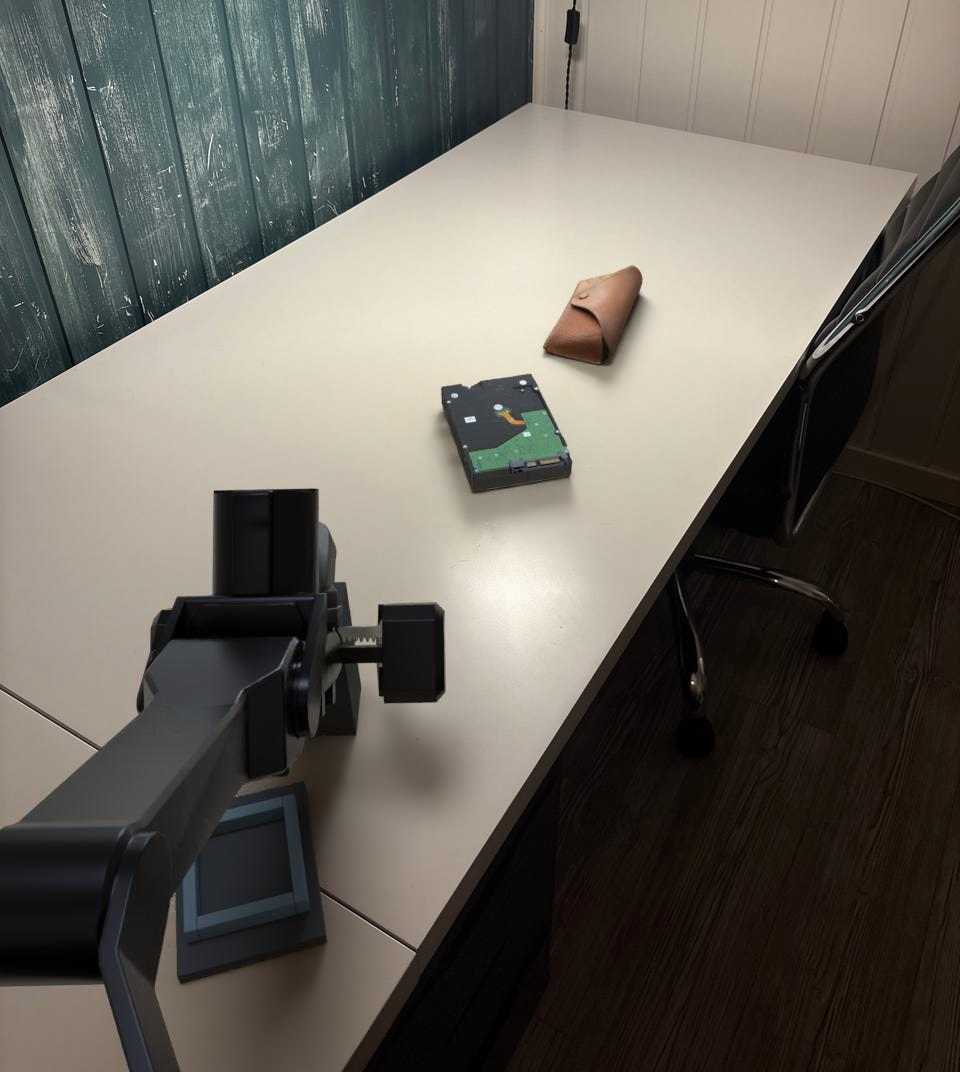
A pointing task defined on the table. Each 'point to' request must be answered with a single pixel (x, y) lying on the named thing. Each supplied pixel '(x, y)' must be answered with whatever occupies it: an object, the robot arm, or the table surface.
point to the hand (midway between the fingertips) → (321, 640)
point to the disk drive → (505, 432)
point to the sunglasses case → (595, 317)
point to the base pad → (251, 887)
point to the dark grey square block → (343, 687)
